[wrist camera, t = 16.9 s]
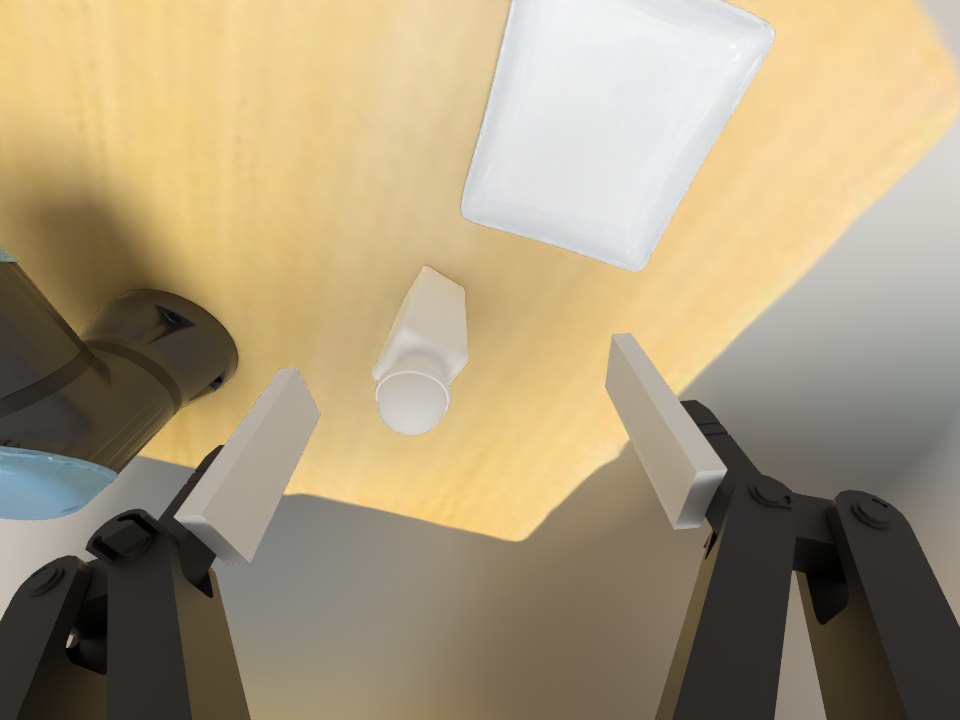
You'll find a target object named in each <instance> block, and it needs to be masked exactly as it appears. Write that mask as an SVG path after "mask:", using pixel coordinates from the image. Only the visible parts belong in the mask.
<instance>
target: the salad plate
mask: <svg viewBox="0 0 960 720" xmlns="http://www.w3.org/2000/svg"><path fill="white" fill-rule="evenodd" d="M775 34H776V33H775V30H774V28H773V27H772V26H771V25H770V24H769V23H768V22H766V21H765V20H763V19H762V18H760V17H758V16H756V15H754V14H752V13H750V12H748V11H746V10H744V9H742V8H740V7H737V6H735V5H733V4H730V3H728V2H726V1H723V0H511V4H510V8H509V13H508V17H507V21H506V26H505V30H504V35H503V39H502V43H501V48H500V52H499V56H498V60H497V65H496V69H495V73H494V77H493V82H492V86H491V90H490V94H489V98H488V102H487V106H486V110H485V114H484V117H483V121H482V125H481V129H480V132H479V136H478V139H477V143H476V147H475V150H474V154H473V157H472V161H471V164H470V168H469V171H468V175H467V178H466V181H465V185H464V189H463V194H462V199H461V207H460V208H461V214H462V216H463V217H464V218H465V219H466V220H468V221H470V222H473V223H476V224H479V225H482V226H485V227H488V228H492V229H496V230H499V231H503V232H507V233H510V234H514V235H518V236H521V237H525V238H529V239H532V240H536V241H539V242H543V243H546V244H549V245H553V246H556V247H559V248H562V249H565V250H568V251H571V252H574V253H577V254H580V255H583V256H586V257H589V258H592V259H595V260H598V261H601V262H604V263H606V264H610V265H613V266H615V267H618V268H622V269H625V270H629V271H634V272H638V271H640V270H641V269H643V268H644V266H645V265H646V263H647V262H648V260H649V258H650V257H651V255H652V253H653V251H654V250H655V248H656V246H657V244H658V243H659V241H660V239H661V237H662V235H663V233H664V232H665V230H666V228H667V226H668V225H669V223H670V221H671V219H672V217H673V215H674V214H675V212H676V210H677V208H678V207H679V205H680V203H681V201H682V199H683V198H684V196H685V194H686V192H687V190H688V189H689V187H690V185H691V183H692V182H693V180H694V178H695V176H696V175H697V173H698V171H699V169H700V168H701V166H702V164H703V162H704V161H705V159H706V157H707V155H708V154H709V152H710V150H711V149H712V147H713V145H714V143H715V142H716V140H717V138H718V137H719V135H720V133H721V132H722V130H723V128H724V127H725V125H726V124H727V122H728V120H729V119H730V117H731V115H732V114H733V112H734V110H735V109H736V107H737V105H738V104H739V102H740V100H741V99H742V97H743V95H744V94H745V92H746V90H747V89H748V87H749V85H750V84H751V82H752V80H753V79H754V77H755V75H756V73H757V72H758V70H759V68H760V66H761V65H762V63H763V61H764V59H765V57H766V55H767V54H768V52H769V50H770V48H771V46H772V44H773V42H774V39H775Z"/></svg>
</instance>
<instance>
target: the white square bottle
mask: <svg viewBox="0 0 960 720" xmlns="http://www.w3.org/2000/svg"><path fill="white" fill-rule="evenodd" d="M467 361H468V344H467V325H466V307H465V289H464V288H463V287H462V286H460V285H458V284H457V283H455V282H453V281H452V280H450V279H448V278H447V277H445V276H443V275H442V274H440V273H438V272H437V271H435V270H433V269H432V268H430V267H428V266H423V268H422V269H421V271H420V273H419V275H418V276H417V278H416V280H415V281H414V283H413V285H412V286H411V288H410V290H409V292H408V293H407V295H406V297H405V298H404V300H403V303H402V305H401V307H400V310H399V312H398V314H397V317H396V319H395V321H394V323H393V326H392V328H391V330H390V333H389V335H388V337H387V340H386V342H385V344H384V347H383V349H382V351H381V353H380V356H379V358H378V360H377V362H376V365H375V367H374V369H373V371H372V377H373V378H374V380H376V381H378V382H377V385H376V391H375V399H376V403H377V409H378V412H379V415H380V417H381V419H382V420H383V422H384V423H385V424H386V425H387V426H388V427H389V428H390V429H392V430H393V431H395V432H397V433H399V434H403V435H410V436H413V435H420V434H423V433H426V432H428V431H430V430H431V429H433V428H434V427H435V426H436V425H437V424H438V423H439V422H440V420H441V419H442V417H443V416H444V414H445V413H446V412H447V410H448V408H449V404H450V400H451V390H450V387H449V384H450V383H451V382H452V381H453V379H454V378H455V377H456V376H457V375H458V373H459V372H460V371H461V370H462V369H463V367H464V366H465V365H466V363H467Z"/></svg>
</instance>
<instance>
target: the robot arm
mask: <svg viewBox="0 0 960 720" xmlns="http://www.w3.org/2000/svg"><path fill="white" fill-rule="evenodd" d="M17 262H19V261H18V260H17V259H16V258H15V257H14V256H11V255H9V254H8V253H7V252H6V251H5V250H4V249H3V248H2V247H1V246H0V518H4V519H15V520H46V519H53V518H59V517H63V516H66V515H69V514H71V513H74V512H76V511H78V510H79V509H81V508H82V507H84V506H85V505H86V504H88V503H89V502H90V501H91V500H92V499H93V498H94V497H95V496H96V495H97V494H98V493H99V492H101V491H102V490H103V489H104V488H105V487H106V486H107V485H108V484H110V483H112V482H113V481H115V479H116V478H117V476H118V474H119V473H120V472H121V471H122V470H123V469H124V468H125V467H126V466H127V465H128V464H129V463H130V461H131V460H132V459H133V458H134V457H135V456H136V455H137V454H138V453H139V452H140V451H141V450H142V449H143V448H144V447H145V445H146V444H147V443H148V442H149V441H150V440H151V439H152V438H153V437H154V436H155V435H156V434H157V433H158V432H159V431H160V430H161V429H162V428H163V426H164V425H165V424H166V423H167V422H168V421H169V420H170V419H171V418H172V417H173V416H174V415H175V414H176V413H177V412H178V411H179V410H180V409H181V408H183V407H185V406H187V405H189V404H191V403H193V402H195V401H197V400H199V399H201V398H203V397H205V396H207V395H209V394H210V393H212V392H214V391H216V390H217V389H219V388H220V387H221V386H223V385H224V383H225V382H226V381H227V380H228V379H229V378H230V377H231V376H232V374H233V373H234V371H235V369H236V366H237V352H236V348H235V346H234V343H233V341H232V339H231V338H230V336H229V334H228V333H227V332H226V330H225V329H224V328H223V327H222V326H221V324H220V323H219V322H218V321H217V320H216V319H214V318H213V317H212V316H211V315H210V314H208V313H207V312H206V311H204V310H203V309H201V308H200V307H198V306H197V305H195V304H193V303H191V302H189V301H187V300H185V299H183V298H181V297H178V296H175V295H173V294H169V293H166V292H161V291H156V290H134V291H129V292H126V293H124V294H122V295H120V296H118V297H116V298H114V299H112V300H111V301H109V302H107V303H106V304H104V305H103V306H102V307H101V308H100V309H99V310H98V311H97V313H96V314H95V315H94V317H93V318H92V319H91V321H90V322H89V323H88V325H87V326H86V328H85V329H84V330H83V332H82V333H81V335H80V336H79V337H78V336H77V334H76V333H75V332H74V331H73V330H72V328H71V327H70V326H69V325H68V324H67V322H66V321H65V320H64V319H63V318H62V316H61V315H60V314H59V313H58V312H57V310H56V309H55V308H54V307H53V306H52V304H51V303H50V302H49V301H48V300H47V298H46V297H45V296H44V295H43V294H42V292H41V291H40V290H39V289H38V288H37V286H36V285H35V284H34V283H33V282H32V280H31V279H30V278H29V277H28V276H27V274H26V273H25V272H24V271H23V270H22V268H21V267H20V266H19V265H18V264H17ZM605 388H606V390H607V392H608V394H609V396H610V398H611V400H612V402H613V404H614V406H615V408H616V411H617V413H618V415H619V417H620V419H621V421H622V423H623V425H624V427H625V429H626V431H627V433H628V435H629V437H630V439H631V441H632V444H633V446H634V448H635V450H636V452H637V454H638V456H639V458H640V460H641V462H642V464H643V466H644V468H645V470H646V472H647V474H648V477H649V479H650V481H651V483H652V485H653V487H654V489H655V491H656V493H657V495H658V497H659V499H660V501H661V504H662V506H663V508H664V510H665V512H666V514H667V516H668V518H669V520H670V522H671V524H672V526H673V528H674V529H685V528H697V527H700V526H701V524H702V522H703V520H704V518H705V516H706V518H707V520H708V522H709V523H710V525H711V527H712V532H711V533H710V535H709V537H708V539H707V541H706V543H705V545H704V548H706V550H705V553H704V556H703V560H702V563H701V566H700V570H699V573H698V576H697V580H696V584H695V587H694V590H693V593H692V597H691V600H690V603H689V607H688V610H687V613H686V617H685V620H684V623H683V627H682V630H681V633H680V637H679V640H678V643H677V647H676V650H675V654H674V657H673V660H672V664H671V667H670V670H669V674H668V677H667V680H666V684H665V687H664V690H663V694H662V697H661V700H660V704H659V707H658V711H657V714H656V717H655V720H774V716H775V708H776V700H777V691H778V683H779V675H780V666H781V658H782V648H783V641H784V633H785V624H786V616H787V607H788V599H789V590H790V582H791V573H792V570H794V571H796V575H797V580H798V585H799V590H800V594H801V599H802V604H803V609H804V614H805V618H806V623H807V628H808V632H809V637H810V642H811V647H812V652H813V656H814V661H815V666H816V670H817V675H818V680H819V685H820V690H821V694H822V699H823V704H824V708H825V713H826V718H827V720H960V627H959V625H958V623H957V620H956V618H955V616H954V614H953V612H952V610H951V608H950V606H949V604H948V602H947V600H946V598H945V596H944V594H943V592H942V590H941V588H940V586H939V584H938V581H937V579H936V577H935V575H934V573H933V571H932V569H931V567H930V565H929V563H928V561H927V559H926V557H925V555H924V553H923V551H922V548H921V546H920V544H919V542H918V540H917V538H916V536H915V534H914V532H913V530H912V528H911V526H910V524H909V523H908V521H907V520H906V519H905V517H904V516H903V514H902V513H900V512H899V511H898V510H897V509H896V508H895V507H893V506H892V505H891V504H889V503H887V502H886V501H884V500H882V499H880V498H878V497H877V496H874V495H871V494H868V493H865V492H862V491H855V490H847V491H842V492H840V493H839V494H838V495H837V496H836V497H835V499H834V500H828V499H823V498H817V497H812V496H806V495H801V494H797V493H793V492H792V491H791V490H790V489H789V488H787V487H786V486H785V485H784V484H783V483H781V482H779V481H777V480H775V479H773V478H771V477H769V476H765V475H762V474H761V473H760V472H759V471H758V470H757V469H756V467H755V466H754V465H753V464H752V462H751V461H750V460H749V459H748V457H747V456H746V455H745V453H744V452H743V451H742V450H741V448H740V447H739V446H738V445H737V443H736V442H735V441H734V440H733V438H732V437H731V436H730V435H728V433H727V431H726V429H725V428H724V427H723V426H722V425H721V424H720V422H719V421H718V419H717V418H716V417H715V416H714V414H713V413H712V412H711V410H709V409H708V408H707V407H705V406H704V405H702V404H701V403H699V402H698V401H696V400H690V401H679V400H678V399H677V397H676V396H675V395H674V393H673V392H672V390H671V389H670V387H669V386H668V385H667V383H666V382H665V380H664V379H663V378H662V376H661V375H660V373H659V372H658V371H657V369H656V368H655V366H654V365H653V364H652V362H651V361H650V359H649V358H648V356H647V355H646V354H645V352H644V351H643V349H642V348H641V347H640V345H639V344H638V342H637V341H636V340H635V338H634V337H633V335H632V334H631V333H628V334H618V335H612V338H611V346H610V353H609V361H608V369H607V376H606V384H605ZM320 415H321V414H320V412H319V410H318V408H317V406H316V404H315V402H314V400H313V398H312V396H311V394H310V392H309V390H308V388H307V386H306V384H305V382H304V380H303V378H302V376H301V374H300V372H299V370H298V368H297V367H293V368H283V369H279V370H278V371H277V373H276V374H275V376H274V377H273V378H272V380H271V381H270V383H269V384H268V385H267V387H266V388H265V390H264V391H263V392H262V394H261V395H260V397H259V398H258V399H257V401H256V402H255V404H254V405H253V406H252V408H251V409H250V411H249V412H248V413H247V415H246V416H245V418H244V419H243V420H242V422H241V423H240V425H239V426H238V427H237V429H236V430H235V432H234V433H233V434H232V436H231V437H230V439H229V440H228V441H227V443H226V444H225V445H219V446H218V447H217V448H215V449H214V450H213V451H212V452H211V453H210V454H208V455H207V456H206V457H205V458H204V459H203V461H202V462H201V463H200V465H199V466H198V467H197V469H196V470H195V473H193V474H192V475H191V477H190V478H189V479H188V481H187V484H185V485H184V486H183V488H182V489H181V490H180V492H179V493H178V494H177V496H176V497H175V498H174V500H173V501H172V502H171V504H170V505H169V506H168V508H167V509H166V511H165V512H164V513H163V514H162V516H161V517H160V518H159V520H158V521H157V520H156V519H154V518H153V517H152V516H151V515H150V514H149V513H147V512H146V511H145V510H142V509H133V510H128V511H126V512H124V513H121V514H119V515H117V516H115V517H114V518H112V519H111V520H109V521H107V522H106V523H105V524H104V525H103V526H101V527H100V528H99V529H98V530H97V531H96V532H95V533H94V534H93V536H92V537H91V538H90V539H89V541H88V543H87V546H86V549H85V550H87V551H88V552H90V553H91V554H93V555H94V556H96V557H97V558H98V559H95V560H92V561H90V562H87V563H86V562H84V561H83V560H81V559H79V558H78V557H76V556H69V555H67V556H64V557H61V558H57V559H56V560H54V561H52V562H50V563H48V564H46V565H44V566H43V567H41V568H40V569H39V570H37V571H36V572H34V573H33V574H32V575H31V576H30V577H29V578H28V579H27V580H26V581H25V582H24V583H23V584H22V585H21V586H20V587H19V589H18V590H17V592H16V593H15V595H14V596H13V598H12V600H11V602H10V604H9V606H8V608H7V609H6V611H5V613H4V615H3V617H2V619H1V621H0V720H251V719H250V715H249V711H248V707H247V702H246V698H245V694H244V690H243V686H242V682H241V677H240V673H239V669H238V665H237V661H236V657H235V653H234V649H233V645H232V640H231V636H230V632H229V628H228V623H227V619H226V615H225V611H224V607H223V603H222V599H221V594H220V591H219V586H218V582H217V578H216V574H215V572H214V571H213V569H212V568H211V567H210V566H211V565H212V563H213V561H214V559H215V557H216V556H217V557H218V558H219V559H220V560H221V561H222V562H223V563H225V564H226V565H235V564H247V563H250V562H251V560H252V558H253V556H254V553H255V551H256V549H257V547H258V545H259V543H260V541H261V539H262V537H263V535H264V533H265V530H266V528H267V526H268V524H269V522H270V520H271V518H272V516H273V513H274V512H275V509H276V507H277V505H278V503H279V501H280V499H281V497H282V495H283V493H284V491H285V488H286V486H287V484H288V482H289V480H290V478H291V476H292V474H293V472H294V470H295V467H296V465H297V463H298V461H299V459H300V457H301V455H302V453H303V451H304V449H305V446H306V444H307V442H308V440H309V438H310V436H311V434H312V432H313V430H314V428H315V425H316V423H317V421H318V419H319V417H320ZM69 635H73V636H74V637H73V640H72V642H71V644H70V646H69V648H66V644H67V640H68V637H69Z"/></svg>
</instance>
